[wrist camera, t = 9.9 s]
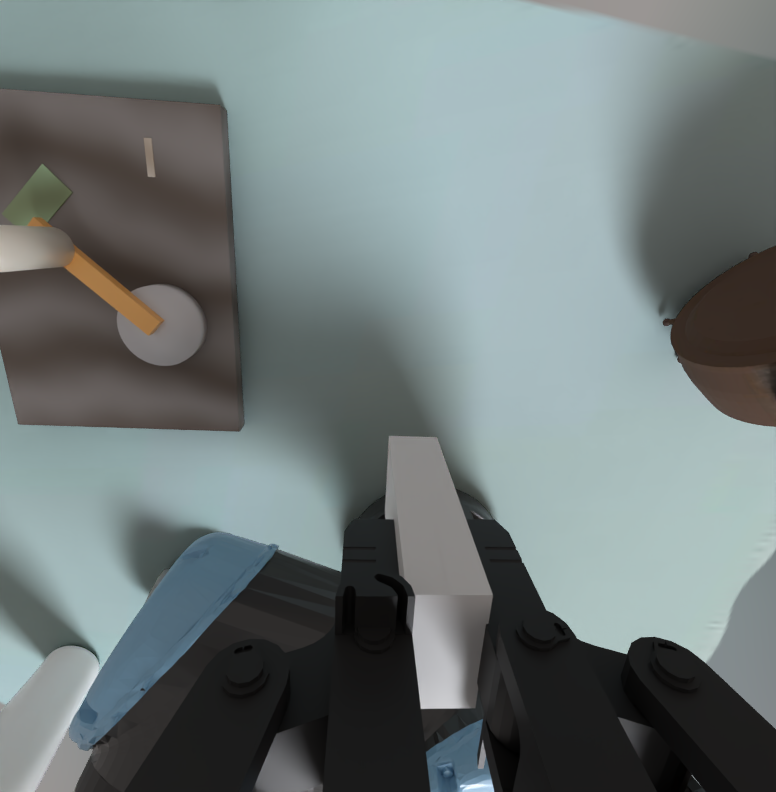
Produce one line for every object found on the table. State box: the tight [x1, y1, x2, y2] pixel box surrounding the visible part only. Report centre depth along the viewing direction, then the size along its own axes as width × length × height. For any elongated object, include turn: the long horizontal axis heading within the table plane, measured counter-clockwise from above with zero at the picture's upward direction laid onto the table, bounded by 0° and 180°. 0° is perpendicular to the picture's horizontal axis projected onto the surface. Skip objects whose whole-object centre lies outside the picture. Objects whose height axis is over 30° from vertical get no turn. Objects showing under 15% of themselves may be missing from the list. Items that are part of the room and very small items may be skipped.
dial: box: [0, 217, 207, 366], centre depth 30 cm, size 13×6×8 cm, turn 45°
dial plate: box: [0, 89, 244, 431], centre depth 34 cm, size 24×18×2 cm
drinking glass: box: [0, 646, 100, 792], centre depth 40 cm, size 7×7×15 cm
